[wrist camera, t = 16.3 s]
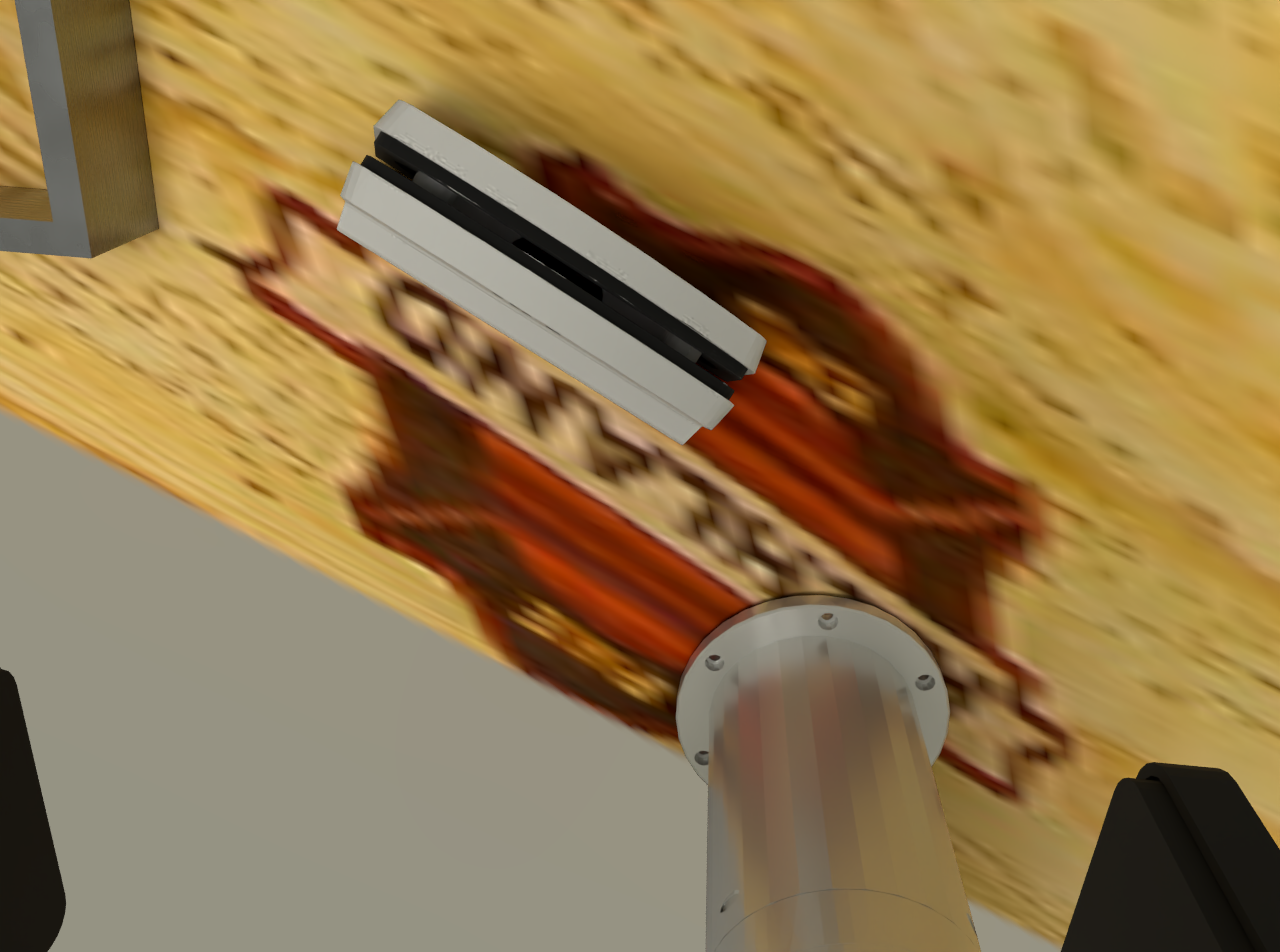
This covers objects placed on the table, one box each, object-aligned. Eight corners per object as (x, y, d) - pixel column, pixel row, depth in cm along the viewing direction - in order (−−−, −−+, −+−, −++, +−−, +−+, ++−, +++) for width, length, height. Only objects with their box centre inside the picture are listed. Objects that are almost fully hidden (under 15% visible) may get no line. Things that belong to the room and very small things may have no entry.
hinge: (334, 227, 42) (279, 199, 32) (395, 123, 42) (359, 63, 32) (684, 446, 45) (732, 482, 35) (744, 351, 45) (809, 360, 35)
